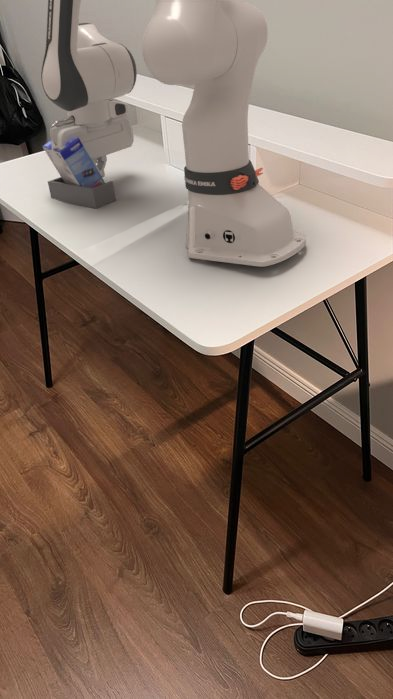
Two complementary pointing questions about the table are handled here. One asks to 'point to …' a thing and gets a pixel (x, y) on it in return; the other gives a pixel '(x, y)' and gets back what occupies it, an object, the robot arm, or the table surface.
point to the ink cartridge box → (75, 164)
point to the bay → (82, 193)
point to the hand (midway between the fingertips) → (99, 177)
